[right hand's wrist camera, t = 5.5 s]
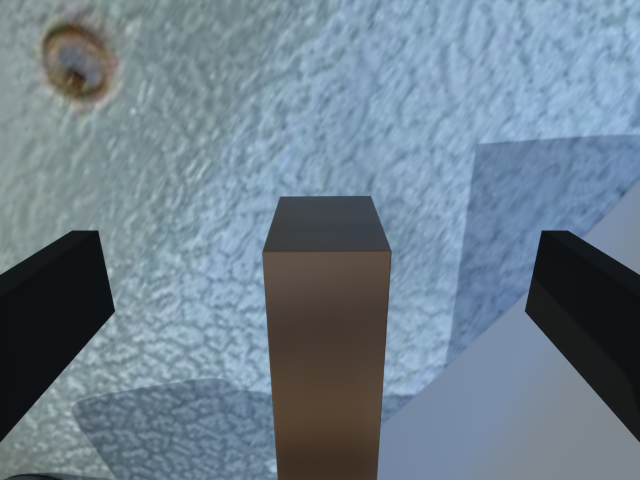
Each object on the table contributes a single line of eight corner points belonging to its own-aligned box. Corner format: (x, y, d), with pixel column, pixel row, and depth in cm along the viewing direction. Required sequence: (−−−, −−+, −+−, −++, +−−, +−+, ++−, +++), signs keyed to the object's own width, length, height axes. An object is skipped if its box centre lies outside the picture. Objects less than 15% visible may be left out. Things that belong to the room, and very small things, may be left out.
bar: (279, 196, 25) (261, 251, 18) (371, 195, 25) (391, 250, 17) (293, 491, 35) (286, 605, 28) (358, 491, 35) (368, 606, 28)
